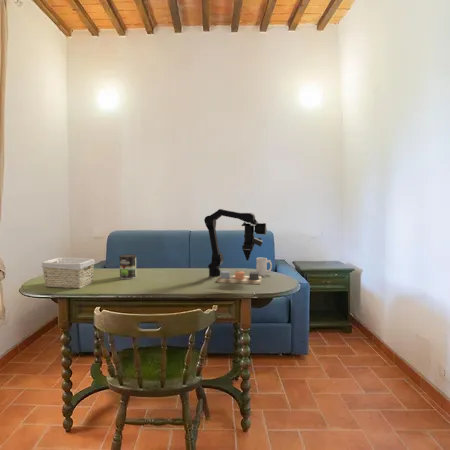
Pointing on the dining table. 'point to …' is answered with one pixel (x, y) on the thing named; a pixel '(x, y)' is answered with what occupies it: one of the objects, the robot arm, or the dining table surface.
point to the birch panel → (239, 280)
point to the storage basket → (68, 272)
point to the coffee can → (127, 266)
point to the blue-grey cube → (225, 274)
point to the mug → (263, 266)
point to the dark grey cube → (254, 276)
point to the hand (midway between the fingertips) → (248, 258)
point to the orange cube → (239, 275)
